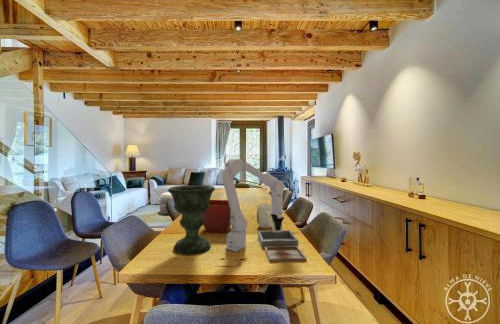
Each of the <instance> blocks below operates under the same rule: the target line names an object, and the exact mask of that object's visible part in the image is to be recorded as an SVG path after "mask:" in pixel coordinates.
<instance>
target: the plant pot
mask: <svg viewBox="0 0 500 324" xmlns="http://www.w3.org/2000/svg"><path fill="white" fill-rule="evenodd" d="M209 204H210V207H209V209H208V210H207V211H205V212H203V214H202V217H203V219H204V220H205V222H204V224H203V228H204V230H205V232H208V233H227V232H228V231H229V229H231V227H232V225H231V223H230V218H231V216H230V213H231V211H230V207H229V203H228V199H210V202H209Z"/></svg>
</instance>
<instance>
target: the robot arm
mask: <svg viewBox="0 0 500 324" xmlns="http://www.w3.org/2000/svg"><path fill="white" fill-rule="evenodd" d="M240 172H247V173H249V174H251V175H252V176H255V177H256V178H258V180H259V182H260V183H261V184H263V185H265V186H266V187H268V188H269V189H270V190H271V205H272V211H271V213H272V214H271V217H272V219H273V221H274V223H275V229H276V230H280V228H281V224H282V225H283V220H284V216H282V215H283V214H285V213H286V211H285V210H283V209H284V208H283V200H284V198H283V195H284V194H283V193H284V190H285V188H286V187H285V183H284V181H282V180H279V179H278V177H276V176H273V175H271V173H270V172H268V171H264V172H263V171H260V169H257V168H256V167H254V166H253V165H251V164H250V163H249V162H247V161H244V160H242V159H241V158H230V159H228V161H227V162H226V163H225V165H224V170H223V173H222V177H221V178H222V182H223V186H224V190H225V195H226V198H227V199H226V200H228V203H229V207H230V211H231V213H230V216H231V218H230V223H231V227H230V231H229V232H228V233H227V235H226V247H225V249H226V250H230V251H233V252H235V253H236V252H237V253H238V252H240V249H244V248H246V246H247V245H246V244H247V238H246V237H247V235H246V234H247V232H246V230H247V228H248V221H247V219H246V218H245V216H244V213H243V212H242V210H241V205H240V201H239V196H238V193H237V192H238V191H237V189H236V185H235V181H234V180H235V178H236V176H237V175H238V174H240Z"/></svg>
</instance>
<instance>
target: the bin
mask: <svg viewBox="0 0 500 324" xmlns="http://www.w3.org/2000/svg"><path fill="white" fill-rule="evenodd" d="M257 241H258V242H259V244H260V246H261V248H262V249H265V247H271V246H298V247H299V239H298V238H297V237H296V236H295V235H294V233H293V232H292V230H287V229H285V230H283V229H282V232H273V230H257Z"/></svg>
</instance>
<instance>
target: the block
mask: <svg viewBox="0 0 500 324" xmlns="http://www.w3.org/2000/svg"><path fill="white" fill-rule="evenodd" d="M271 229H272V230H271V231H273V232H282V230H283V223H282V224H281V228H280V230H276V229H275V223H274V221H272V225H271Z"/></svg>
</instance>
